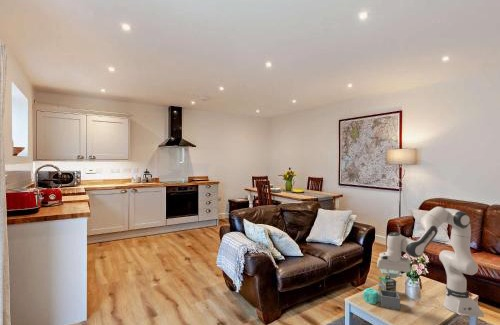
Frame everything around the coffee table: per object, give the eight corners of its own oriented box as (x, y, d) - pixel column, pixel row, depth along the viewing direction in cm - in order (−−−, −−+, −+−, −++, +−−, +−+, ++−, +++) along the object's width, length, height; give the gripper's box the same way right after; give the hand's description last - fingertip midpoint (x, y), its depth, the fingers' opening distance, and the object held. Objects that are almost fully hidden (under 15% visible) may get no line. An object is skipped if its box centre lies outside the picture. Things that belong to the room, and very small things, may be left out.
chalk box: (388, 289, 218) (388, 271, 218) (396, 295, 209) (396, 276, 209) (377, 290, 217) (378, 272, 216) (385, 296, 208) (386, 277, 207)
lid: (398, 272, 197) (398, 268, 197) (403, 280, 183) (404, 276, 183) (379, 269, 201) (379, 266, 201) (383, 277, 187) (383, 273, 187)
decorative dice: (362, 300, 202) (363, 289, 202) (369, 297, 206) (369, 287, 206) (372, 305, 195) (373, 294, 195) (379, 302, 200) (379, 291, 199)
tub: (396, 302, 199) (396, 291, 199) (399, 310, 190) (400, 298, 190) (378, 299, 203) (379, 289, 203) (381, 307, 193) (381, 296, 193)
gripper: (409, 256, 186) (408, 276, 187) (376, 253, 192) (376, 272, 193) (411, 260, 180) (411, 280, 181) (378, 256, 186) (377, 276, 187)
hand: (392, 276), depth 187 cm, fingers closed on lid, 3 cm apart
